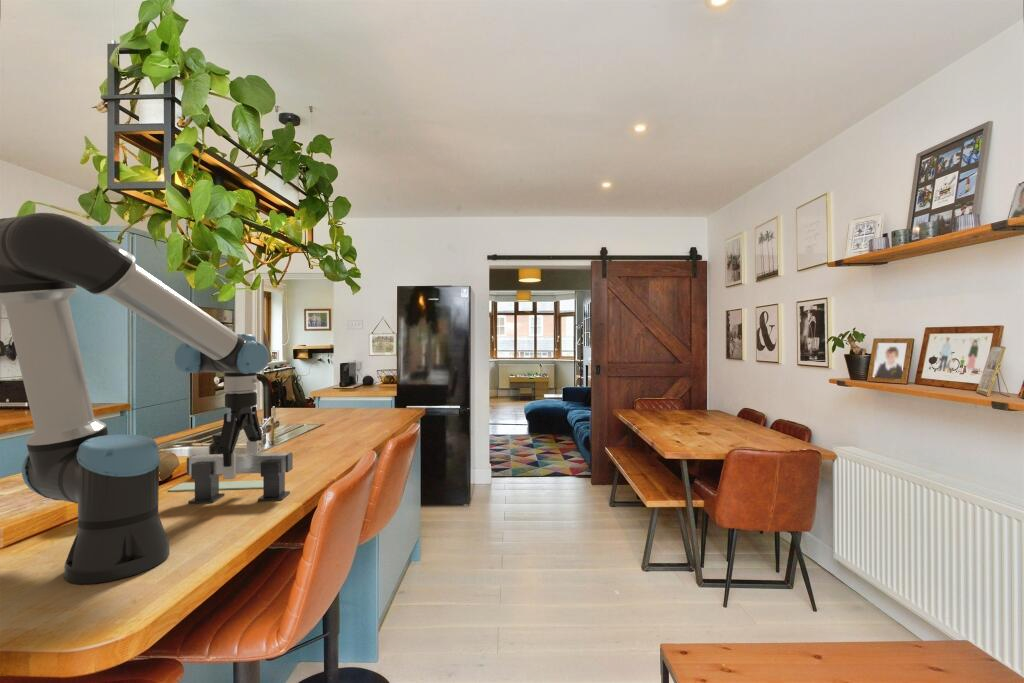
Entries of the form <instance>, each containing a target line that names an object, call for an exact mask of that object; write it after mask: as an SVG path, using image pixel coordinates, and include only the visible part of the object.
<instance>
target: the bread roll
mask: <svg viewBox="0 0 1024 683" xmlns="http://www.w3.org/2000/svg"><path fill="white" fill-rule="evenodd" d="M159 457H160V462H159V472H160V474H159V477H160V479H161V482H163V481H165V480H166V479H168V478H169V477H171V476H172V475H173V474H172V473H173V472H174V470H175V469H176V468H177V467H178V466H179V467H180V460H179V457H178V456H177V454H176V453H174V452H172V451H171V452H170V451H169V452H167V453H166V452H159ZM171 474H172V475H171ZM170 475H171V476H170Z"/></svg>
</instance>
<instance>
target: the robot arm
mask: <svg viewBox="0 0 1024 683" xmlns="http://www.w3.org/2000/svg"><path fill="white" fill-rule="evenodd" d="M77 287H80V288H82V289H84V290H85V291H87V292H89V293H90V294H92V295H97V296H99V295H105V296H106V297H109V298H110V299H112V300H113V301H115V302H117V303H118V304H120V305H122V306H124V307H125V308H127V309H128V310H130V311H132V312H134V313H135V314H137V315H139V316H141V317H142V318H144V319H145V320H147V321H149V322H150V323H152V324H154V325H155V326H157V328H158V327H159V328H160V329H162V330H164V331H165V332H167V333H168V334H170V335H172V336H173V337H175V338H177V339H178V340H180V341H182V343H180V344H178V345H177V347H176V349H175V351H174V363H175V366H176V368H177V369H178V370H179V371H180V372H182V373H184V374H191V373H192V374H197V373H224V374H223V375H224V381H223V382H224V384H223V385H224V386H223V387H224V389H223V390H224V391H225V392H226V393H225V394H224V407H225V408H227V409H230V413H229V412H228V413H224V414H223V425H222V429H221V432H220V433H221V437H220V441H219V446H218V454H223V474H222V479H223V480H235V479H236V478H237V477H236V476H237V475H236V456H235V454H236V452H234V451H235V448H236V445H237V442H238V439H239V436H240V433H241V431H242V430H243V431H244V434H245V436H246V439H247V440H248V441H247V442H246V454H248V453H259V441H262V439H263V436H262V429H261V425H260V421H259V418H258V412H257V411H258V409H257V405H258V393H257V392H256V390H257V386H258V384H257V383H258V382H259V379H258V378H257V376H258V375H257V373H260V372H261V371H263V370H264V369H265V368H266V367H267V366H268V363H269V360H270V352H269V350H268V348H267V346H266V345H265V344H264V343H262V342H261V341H260V342H259V341H257V338H256V336H255V335H254V334H251V333H248V334H247V333H245V334H244V333H242V334H241V333H236V332H235V331H233V330H231V329H230V328H229V327H227V326H226V325H224V324H223V323H221V322H220V321H219V320H218V319H216V318H214V317H213V316H211V315H210V314H208V313H207V312H205V311H204V310H203V309H201V308H200V307H198V306H197V305H195V304H194V303H193V302H191V301H190V300H189V299H187V298H186V297H184V296H182V295H181V294H179V293H178V292H177V291H175V290H174V289H172V288H171V287H169V286H168V285H166V284H165V283H164V282H162V281H161V280H160V279H159V278H157V277H155V276H154V275H152V274H151V273H149V272H148V271H147V270H145V269H143V268H142V267H141V266H139V265H138V264H137V263H136V258H135V256H134V254H132V253H131V252H129V251H128V250H126V249H125V248H124V247H122V246H120V245H119V244H118V243H116V242H115V241H113V240H112V239H110V238H108V237H107V236H105V235H104V234H102V233H100V232H99V231H97V230H96V229H94V228H92V227H91V226H88V225H87V224H85V223H83V222H81V221H79V220H76V219H74V218H73V217H69V216H66V215H63V214H59V213H54V212H35V213H30V214H26V215H21V216H12V217H4V218H0V302H1V303H2V304H3V305H4V306H5V311H6V316H7V320H8V323H9V328H10V331H11V336H12V340H13V345H14V349H15V353H16V356H17V360H18V366H19V370H20V373H21V378H22V381H23V386H24V390H25V394H26V398H27V402H28V407H29V410H30V416H31V419H32V423H33V427H34V432H33V433H32V434H31V435H30V436H29V437H28V438H27V439H26V447H27V452H28V454H27V455H26V457H25V458H24V459H23V463H22V464H21V476H22V480H23V481H24V484H25V485H26V486H27V487H28V488H29V489H30V490H31V491H32V492H34V493H35V494H37V495H39V496H41V497H44V498H46V499H51V500H54V501H64V502H69V503H74V504H77V532H76V534H75V537H74V539H73V542H72V545H71V547H70V550H69V552H68V555H67V558H66V560H65V562H64V569H63V571H64V572H63V574H64V577H63V578H64V580H65V581H66V582H69V583H71V584H77V585H78V584H79V585H80V584H81V585H82V584H83V585H84V584H86V585H87V584H89V585H90V584H100V583H106V582H111V581H112V582H113V581H116V580H120V579H121V580H122V579H125V578H128V577H131V576H135V575H138V574H140V573H142V572H146V571H149V570H150V569H153V568H155V567H157V566H158V565H160V564H161V563H163V562H164V561H166V560H167V559H168V558H169V556H170V547H171V546H170V540H169V538H168V536H167V533H166V530H165V528H164V525H163V523H162V521H161V519H160V516H159V491H160V490H159V489H160V488H159V483H160V482H159V462H160V457H159V453H160V450H159V445H158V442H157V441H156V440H154V438H151V437H149V436H145V435H140V434H124V433H122V434H120V433H119V434H118V433H117V434H116V433H115V434H109V431H108V426H107V423H105V422H104V421H101V420H99V419H97V418H95V414H94V410H93V406H92V401H91V396H90V391H89V386H88V382H87V377H86V373H85V369H84V365H83V359H82V355H81V350H80V347H79V346H80V345H79V341H78V336H77V332H76V328H75V323H74V318H73V314H72V308H71V305H70V300H69V299H70V298H71V297H72V295H74V294H75V292H76V291H77V289H78V288H77Z"/></svg>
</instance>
